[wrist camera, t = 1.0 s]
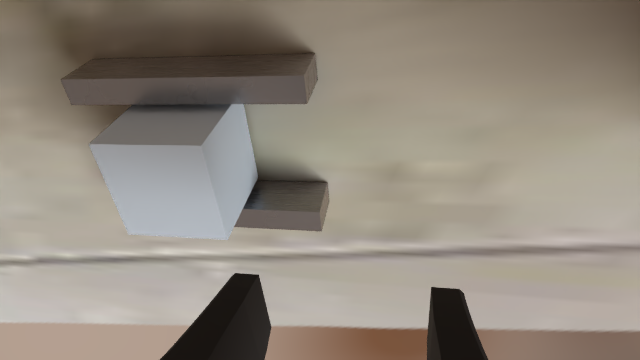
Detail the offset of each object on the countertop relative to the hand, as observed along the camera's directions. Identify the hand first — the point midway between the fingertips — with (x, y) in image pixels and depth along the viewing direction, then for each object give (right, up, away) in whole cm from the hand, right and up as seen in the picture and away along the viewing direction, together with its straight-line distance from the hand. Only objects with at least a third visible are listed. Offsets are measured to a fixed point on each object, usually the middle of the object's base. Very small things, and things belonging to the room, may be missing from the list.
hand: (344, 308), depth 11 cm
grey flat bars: (-5, +5, +8) cm, 11 cm away
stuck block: (-5, +5, +8) cm, 11 cm away
